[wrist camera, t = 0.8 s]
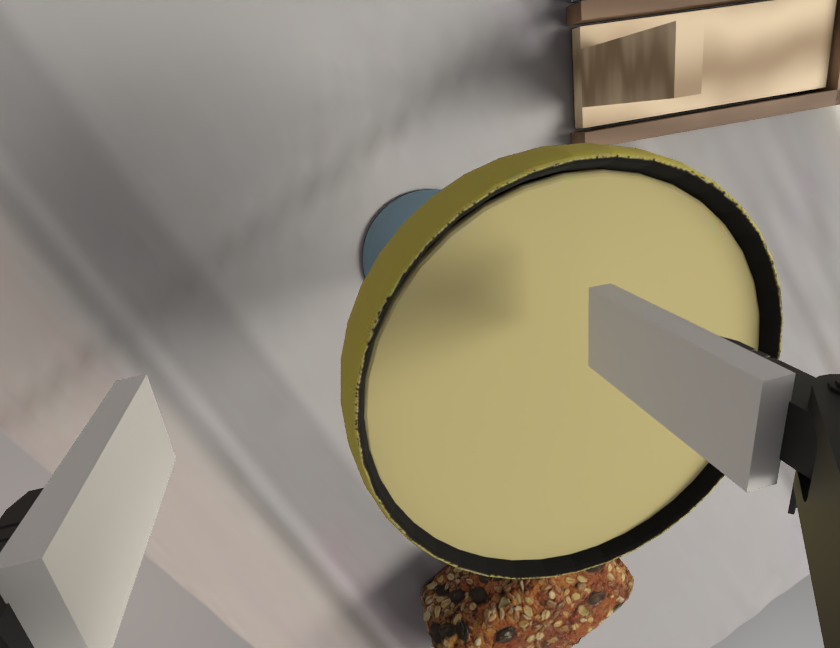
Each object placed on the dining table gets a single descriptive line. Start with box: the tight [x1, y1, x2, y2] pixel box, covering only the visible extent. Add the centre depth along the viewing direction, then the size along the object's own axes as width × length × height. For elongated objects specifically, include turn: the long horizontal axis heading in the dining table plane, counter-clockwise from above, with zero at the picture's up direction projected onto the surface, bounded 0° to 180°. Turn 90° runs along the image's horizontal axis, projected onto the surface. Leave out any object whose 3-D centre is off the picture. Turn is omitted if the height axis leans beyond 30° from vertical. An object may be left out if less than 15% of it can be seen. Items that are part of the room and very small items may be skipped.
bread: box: [421, 558, 634, 648], centre depth 51 cm, size 19×11×10 cm, turn 126°
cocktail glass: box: [341, 143, 783, 579], centre depth 31 cm, size 18×18×25 cm
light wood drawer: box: [572, 0, 837, 128], centre depth 37 cm, size 7×22×12 cm, turn 99°
